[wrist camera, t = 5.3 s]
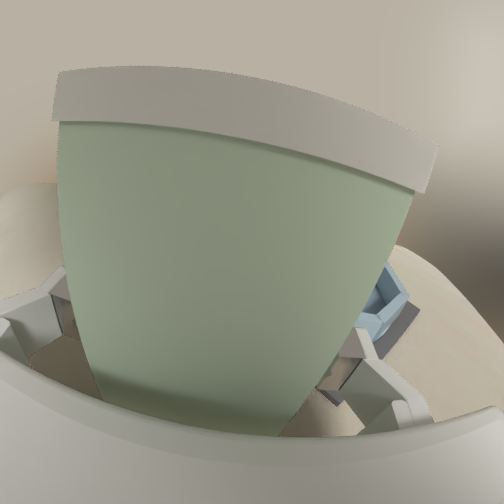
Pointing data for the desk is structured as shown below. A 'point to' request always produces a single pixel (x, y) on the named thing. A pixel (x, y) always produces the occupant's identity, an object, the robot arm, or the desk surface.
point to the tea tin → (222, 235)
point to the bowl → (383, 304)
